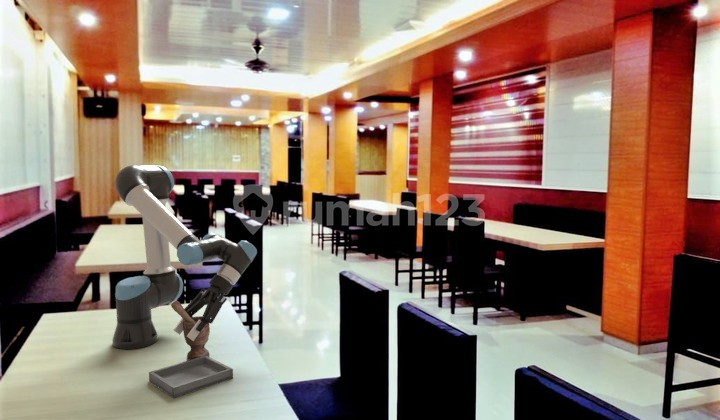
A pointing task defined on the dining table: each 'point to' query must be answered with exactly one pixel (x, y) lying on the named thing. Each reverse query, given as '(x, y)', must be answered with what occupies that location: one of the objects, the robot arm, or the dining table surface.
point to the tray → (190, 376)
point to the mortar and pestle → (188, 324)
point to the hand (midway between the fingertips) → (183, 335)
